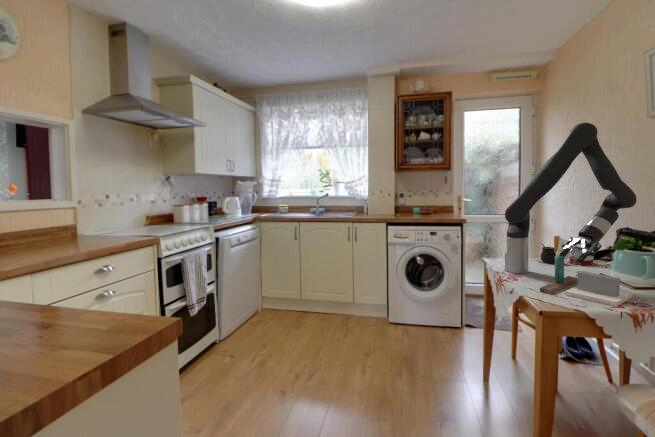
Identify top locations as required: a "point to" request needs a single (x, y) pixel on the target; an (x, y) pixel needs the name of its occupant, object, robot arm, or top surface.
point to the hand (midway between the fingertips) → (569, 259)
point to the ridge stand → (599, 289)
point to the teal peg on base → (558, 278)
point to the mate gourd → (548, 254)
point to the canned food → (576, 253)
